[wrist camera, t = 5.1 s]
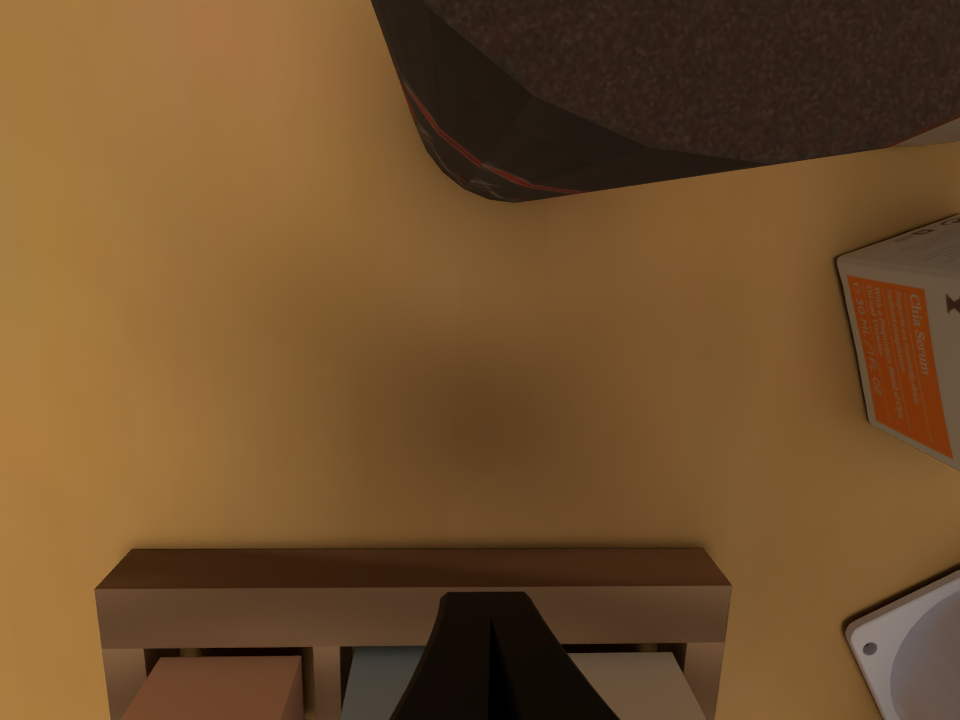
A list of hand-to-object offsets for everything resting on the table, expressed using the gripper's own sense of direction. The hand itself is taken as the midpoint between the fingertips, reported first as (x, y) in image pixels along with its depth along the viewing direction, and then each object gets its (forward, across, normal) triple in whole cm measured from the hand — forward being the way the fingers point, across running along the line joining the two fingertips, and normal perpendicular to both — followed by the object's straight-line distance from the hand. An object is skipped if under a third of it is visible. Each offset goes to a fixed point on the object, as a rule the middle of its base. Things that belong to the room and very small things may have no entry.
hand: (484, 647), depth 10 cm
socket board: (+10, +1, +9) cm, 14 cm away
